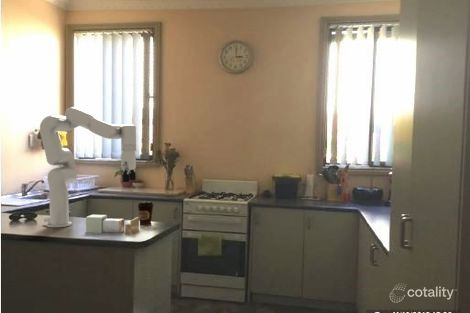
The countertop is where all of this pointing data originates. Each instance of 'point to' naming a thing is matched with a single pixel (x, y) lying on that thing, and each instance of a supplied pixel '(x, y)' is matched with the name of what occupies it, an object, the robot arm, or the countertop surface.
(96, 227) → the pale green cube
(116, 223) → the white rectangular block
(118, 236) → the countertop surface
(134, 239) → the countertop surface
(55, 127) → the robot arm
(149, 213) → the coffee cup
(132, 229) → the beige block
